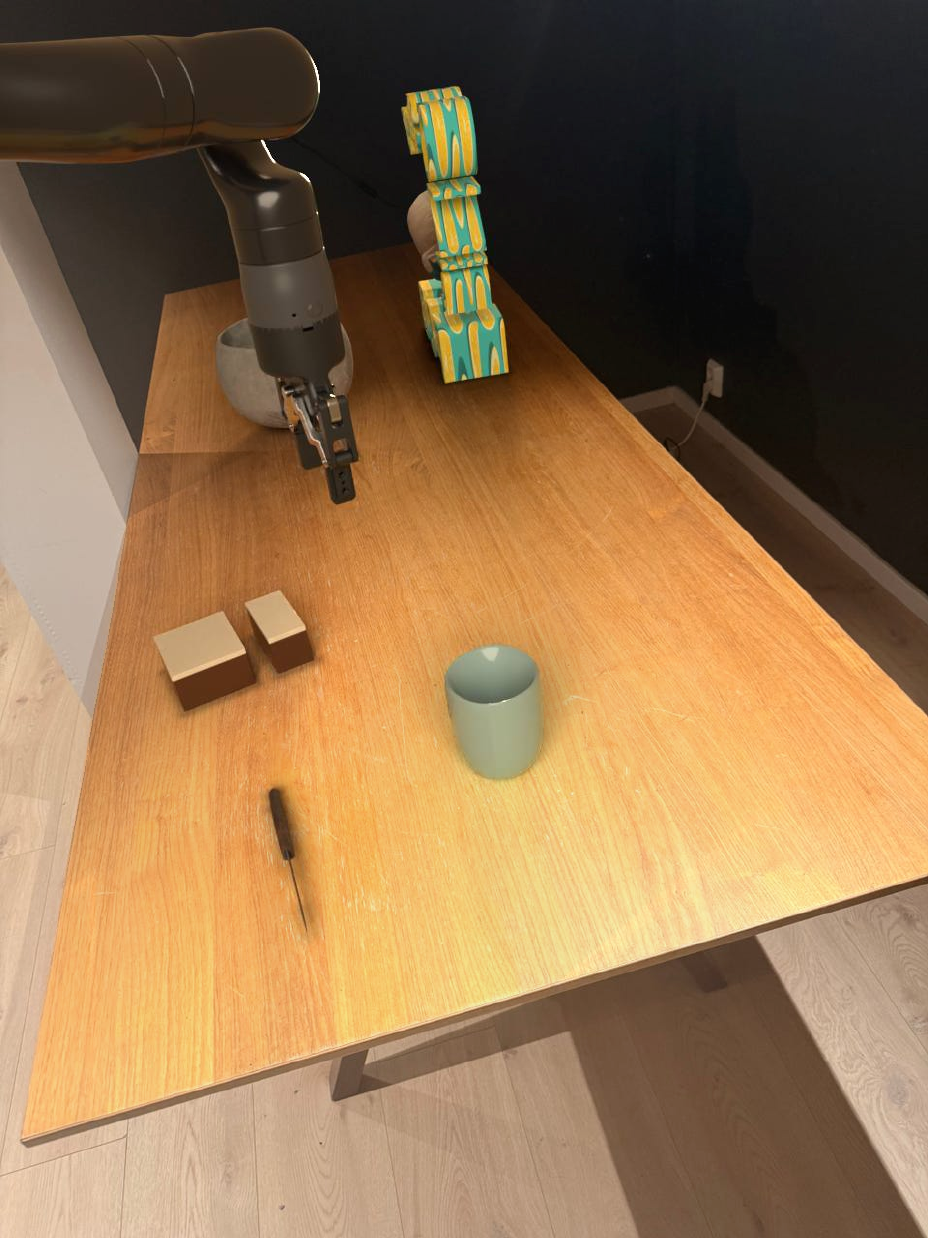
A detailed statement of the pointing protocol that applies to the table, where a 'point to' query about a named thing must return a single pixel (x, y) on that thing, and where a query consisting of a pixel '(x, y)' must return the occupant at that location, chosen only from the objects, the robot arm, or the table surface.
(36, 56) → the robot arm
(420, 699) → the table surface
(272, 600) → the slice
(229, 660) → the cake
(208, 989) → the table surface
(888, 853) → the table surface
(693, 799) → the table surface
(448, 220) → the party decoration
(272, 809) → the knife
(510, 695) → the cup
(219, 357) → the bowl
